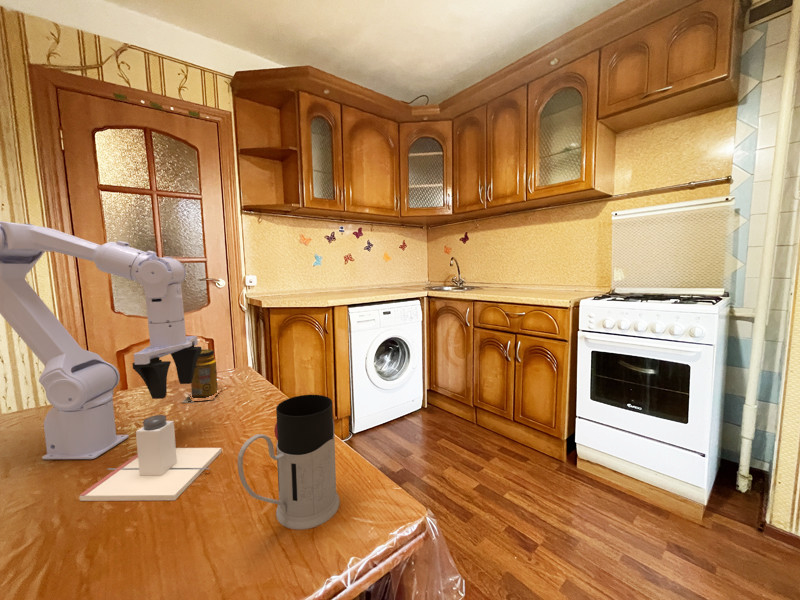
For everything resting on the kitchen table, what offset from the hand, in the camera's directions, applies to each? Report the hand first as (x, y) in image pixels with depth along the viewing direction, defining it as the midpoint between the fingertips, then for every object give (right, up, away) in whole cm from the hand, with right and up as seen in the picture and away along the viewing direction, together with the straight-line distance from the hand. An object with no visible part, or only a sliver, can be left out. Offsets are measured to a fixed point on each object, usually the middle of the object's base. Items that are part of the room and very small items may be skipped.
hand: (173, 390), depth 65 cm
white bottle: (+4, -11, -9) cm, 15 cm away
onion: (+23, -11, -1) cm, 26 cm away
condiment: (-9, -8, +25) cm, 27 cm away
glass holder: (+29, -12, -19) cm, 37 cm away
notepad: (+4, -11, -9) cm, 15 cm away
